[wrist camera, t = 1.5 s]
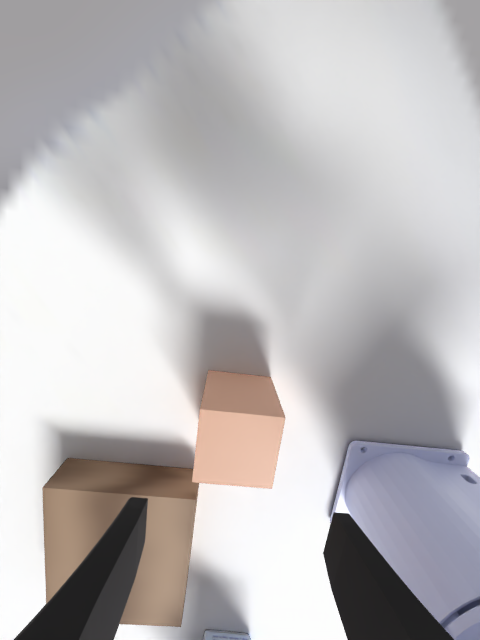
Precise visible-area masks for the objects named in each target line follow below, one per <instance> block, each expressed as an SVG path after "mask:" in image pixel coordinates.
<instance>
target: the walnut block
mask: <svg viewBox="0 0 480 640" xmlns="http://www.w3.org/2000/svg"><path fill="white" fill-rule="evenodd" d="M192 477H193V469H187V468H176V467H165V466H153V465H142V464H131V463H119V462H108V461H97V460H85V459H74V458H67V459H66V461H65V462H64V463H63V464H62V465H61V466H60V468H59V469H58V470H57V471H56V472H55V474H54V475H53V476H52V477H51V478H50V479H49V481H48V482H47V483H46V484H45V485H44V487H43V516H44V546H45V576H46V604H47V603H48V602H49V600H50V599H51V598H52V597H53V596H54V595H55V594H56V592H57V591H58V590H59V589H60V588H61V586H62V585H63V584H64V583H65V582H66V581H67V579H68V578H69V577H70V576H71V575H72V573H73V572H74V571H75V570H76V569H77V567H78V566H79V565H80V564H81V563H82V561H83V560H84V559H85V558H86V556H87V555H88V554H89V552H90V551H91V550H92V549H93V547H94V546H95V545H96V544H97V542H98V541H99V540H100V538H101V537H102V536H103V534H104V533H105V532H106V530H107V529H108V528H109V526H110V525H111V524H112V522H113V521H114V520H115V518H116V517H117V515H118V514H119V513H120V511H121V510H122V508H123V507H124V505H125V504H126V502H127V501H128V499H130V498H131V497H138V498H148V506H147V521H146V536H145V544H144V548H143V551H142V555H141V559H140V563H139V566H138V570H137V574H136V577H135V580H134V583H133V586H132V589H131V592H130V595H129V598H128V600H127V603H126V606H125V609H124V612H123V615H122V617H121V620H120V623H119V624H132V625H153V626H175V627H181V623H182V616H183V608H184V601H185V594H186V587H187V578H188V570H189V562H190V554H191V546H192V537H193V529H194V521H195V513H196V504H197V496H198V488H199V483H195V482H192Z"/></svg>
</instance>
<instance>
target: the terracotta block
mask: <svg viewBox="0 0 480 640" xmlns="http://www.w3.org/2000/svg"><path fill="white" fill-rule="evenodd" d="M284 422H285V415H284V412H283V410H282V407H281V404H280V401H279V398H278V396H277V393H276V390H275V387H274V384H273V382H272V379H271V377H266V376H257V375H247V374H238V373H229V372H220V371H211V370H208V374H207V379H206V384H205V388H204V393H203V397H202V402H201V407H200V413H199V422H198V432H197V441H196V450H195V459H194V468H193V477H192V482H195V483H207V484H219V485H232V486H244V487H256V488H269V489H272V486H273V481H274V475H275V470H276V465H277V459H278V454H279V449H280V444H281V438H282V433H283V428H284Z"/></svg>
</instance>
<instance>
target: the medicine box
mask: <svg viewBox="0 0 480 640" xmlns="http://www.w3.org/2000/svg"><path fill="white" fill-rule="evenodd" d="M203 640H251V638H250V636H249V635H248V634H246V633H238V632H229V631H218V630H206V631H205V633H204V638H203Z"/></svg>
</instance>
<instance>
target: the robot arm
mask: <svg viewBox="0 0 480 640" xmlns="http://www.w3.org/2000/svg"><path fill="white" fill-rule="evenodd" d="M363 447H364V448H363ZM361 448H363V449H361ZM468 461H469V455H468V454H466V453H465V452H464V451H460V450H450V449H439V448H429V447H418V446H408V445H397V444H387V443H376V442H366V441H353V442H351V443H350V444H349V447H348V451H347V455H346V459H345V463H344V467H343V471H342V475H341V479H340V483H339V487H338V491H337V495H336V498H335V502H334V506H333V510H332V514H331V518H330V523H331V525H330V529H329V533H328V537H327V541H326V545H325V549H324V552H323V554H324V558H325V563H326V567H327V572H328V576H329V580H330V584H331V589H332V592H333V595H334V598H335V602H336V605H337V608H338V611H339V614H340V617H341V620H342V623H343V626H344V629H345V633H346V636H347V639H348V640H480V477H478V476H477V475H476V474H475V473H474V472H473V471H471V470H470V469H469V468H468V467H467V464H468ZM147 506H148V498H138V497H131V498H130V499H128V501H127V502H126V504H125V505H124V507H123V508H122V510H121V511H120V513H119V514H118V515H117V517H116V518H115V520H114V521H113V522H112V524H111V525H110V526H109V528H108V529H107V530H106V532H105V533H104V534H103V536H102V537H101V538H100V540H99V541H98V542H97V544H96V545H95V546H94V547H93V549H92V550H91V551H90V552H89V554H88V555H87V556H86V558H85V559H84V560H83V561H82V563H81V564H80V565H79V566H78V567H77V569H76V570H75V571H74V572H73V573H72V575H71V576H70V577H69V578H68V579H67V581H66V582H65V583H64V584H63V585H62V586H61V588H60V589H59V590H58V591H57V592H56V594H55V595H54V596H53V597H52V598H51V599H50V600H49V602H48V603H47V604H46V605H45V606H44V607H43V608H42V609H41V611H40V612H39V613H38V614H37V615H36V616H35V617H34V618H33V619H32V621H31V622H30V623H29V624H28V625H27V626H26V627H25V628H24V629H23V630H22V631H21V632H20V633H19V635H18V636H17V637H16V638H15V639H14V640H114V637H115V634H116V631H117V629H118V626H119V623H120V620H121V617H122V615H123V612H124V609H125V606H126V603H127V600H128V598H129V595H130V592H131V589H132V586H133V583H134V580H135V577H136V574H137V570H138V566H139V563H140V559H141V555H142V551H143V548H144V544H145V536H146V521H147Z"/></svg>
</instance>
